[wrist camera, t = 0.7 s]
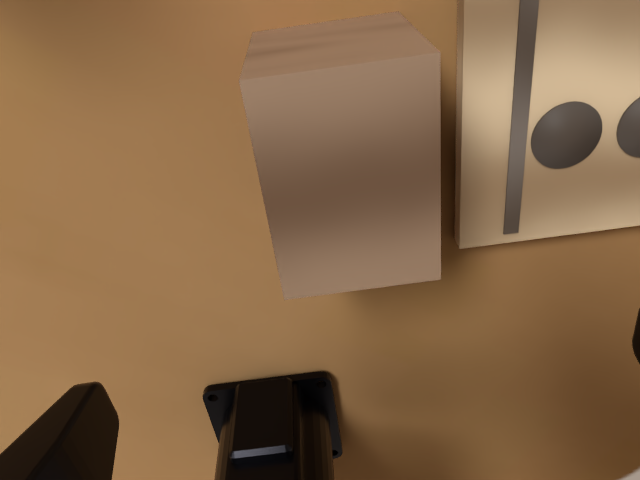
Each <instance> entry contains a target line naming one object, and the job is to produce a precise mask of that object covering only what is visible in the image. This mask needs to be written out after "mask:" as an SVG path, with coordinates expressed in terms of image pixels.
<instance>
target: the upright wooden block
mask: <svg viewBox="0 0 640 480" xmlns="http://www.w3.org/2000/svg"><path fill="white" fill-rule="evenodd" d="M239 83H240V88H241V93H242V98H243V103H244V108H245V112H246V117H247V122H248V127H249V132H250V137H251V141H252V146H253V151H254V156H255V161H256V166H257V170H258V175H259V180H260V185H261V190H262V195H263V199H264V204H265V209H266V214H267V219H268V224H269V228H270V233H271V238H272V243H273V248H274V253H275V257H276V262H277V267H278V272H279V277H280V282H281V286H282V291H283V296H284V300H287V299H295V298H303V297H310V296H318V295H326V294H334V293H341V292H349V291H357V290H364V289H372V288H380V287H388V286H395V285H403V284H411V283H418V282H426V281H434V280H441V107H440V51H439V50H438V49H437V48H435V47H434V46H433V45H432V44H431V43H430V42H429V41H428V40H427V39H426V38H425V37H424V36H423V35H422V34H421V33H420V32H419V31H418V30H417V29H416V28H415V27H414V26H413V25H412V24H411V23H410V22H409V21H408V20H407V19H406V18H405V17H404V16H403V15H402V14H401V13H400V12H399V11H398V12H391V13H384V14H377V15H370V16H363V17H356V18H349V19H342V20H335V21H328V22H321V23H314V24H307V25H300V26H293V27H286V28H279V29H272V30H265V31H258V32H253V33H252V37H251V40H250V44H249V47H248V51H247V54H246V58H245V61H244V65H243V68H242V72H241V75H240V79H239Z"/></svg>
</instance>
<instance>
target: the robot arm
mask: <svg viewBox="0 0 640 480" xmlns="http://www.w3.org/2000/svg"><path fill="white" fill-rule="evenodd" d="M632 346H633V351H634V354H635V356H636V358H637V360H638V362H639V364H640V308H639V311H638V316H637V321H636V325H635V330H634V334H633V339H632ZM319 381H323V382H319ZM203 400H204V403H205V406H206V409H207V412H208V414H209V417H210V420H211V423H212V426H213V428H214V431H215V434H216V437H217V440H218V442H219V449H218V457H217V464H216V472H215V479H214V480H334V470H333V459H334V458H338V457H340V456H341V455H342V443H341V437H340V431H339V425H338V419H337V413H336V406H335V400H334V394H333V388H332V382H331V377H330V375H329V374H328V373H327V372H321V371H320V372H312V373H304V374H296V375H288V376H280V377H272V378H264V379H256V380H248V381H240V382H232V383H224V384H216V385H210V386H207V387H206V388H205V389H204V393H203ZM118 430H119V419H118V415H117V412H116V410H115V408H114V406H113V404H112V402H111V400H110V398H109V396H108V394H107V392H106V390H105V388H104V387H103V385H102V384H101V383H99V382H90V383H83V384H77V385H74V386H73V387H72V388H70V389H69V390H68V391H67V392H66V393H65V394H64V395H63V396H62V397H61V398H60V399H58V400H57V401H56V402H55V403H54V404H53V405H52V406H51V407H50V408H49V409H48V410H47V411H46V412H45V413H44V414H43V415H41V416H40V417H39V418H38V419H37V420H36V421H35V422H34V423H33V424H32V425H31V426H30V427H29V428H28V429H27V430H25V431H24V432H23V433H22V434H21V435H20V436H19V437H18V438H17V439H16V440H15V441H14V442H13V443H12V444H11V445H10V446H8V447H7V448H6V449H5V450H4V451H3V452H2V453H1V454H0V480H112V473H113V465H114V458H115V451H116V444H117V437H118Z"/></svg>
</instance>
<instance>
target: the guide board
mask: <svg viewBox="0 0 640 480" xmlns="http://www.w3.org/2000/svg"><path fill="white" fill-rule="evenodd" d="M639 225H640V0H458V13H457V89H456V165H455V241H456V243H457V245H458V247H459V249H463V248H471V247H479V246H486V245H494V244H502V243H509V242H517V241H525V240H532V239H540V238H548V237H555V236H563V235H571V234H578V233H586V232H593V231H601V230H609V229H616V228H624V227H632V226H639Z"/></svg>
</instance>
